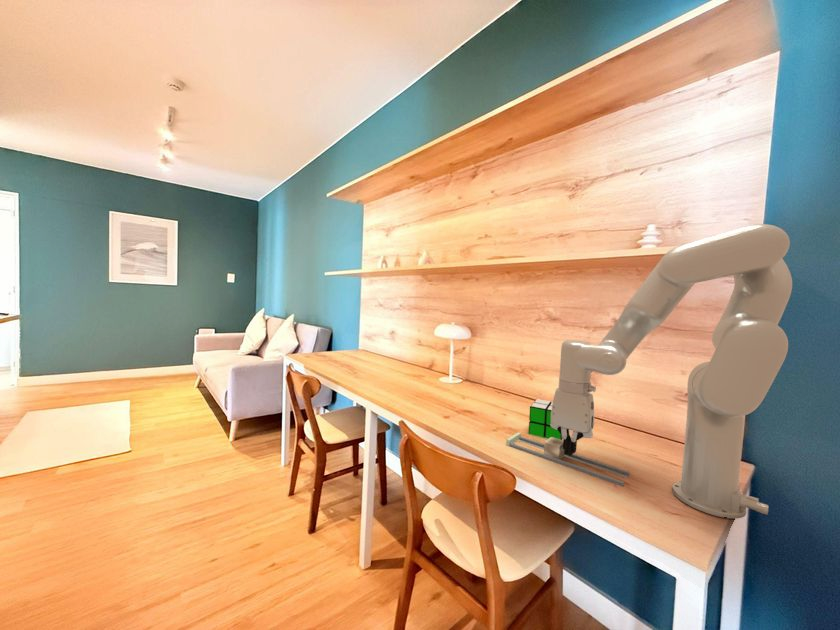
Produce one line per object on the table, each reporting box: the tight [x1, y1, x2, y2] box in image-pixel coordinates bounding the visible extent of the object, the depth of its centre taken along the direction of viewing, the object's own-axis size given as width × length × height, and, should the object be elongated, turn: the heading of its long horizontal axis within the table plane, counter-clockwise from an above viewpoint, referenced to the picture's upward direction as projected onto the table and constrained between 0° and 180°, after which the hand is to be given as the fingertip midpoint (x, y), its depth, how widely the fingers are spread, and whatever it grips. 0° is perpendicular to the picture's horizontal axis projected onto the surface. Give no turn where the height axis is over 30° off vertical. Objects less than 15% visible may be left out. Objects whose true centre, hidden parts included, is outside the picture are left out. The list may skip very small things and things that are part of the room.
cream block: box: [543, 437, 565, 460], centre depth 93 cm, size 4×5×4 cm
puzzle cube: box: [528, 398, 563, 440], centre depth 109 cm, size 10×10×10 cm
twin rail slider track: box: [505, 431, 630, 487], centre depth 91 cm, size 30×9×2 cm, turn 48°
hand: (569, 453), depth 90 cm, fingers closed
